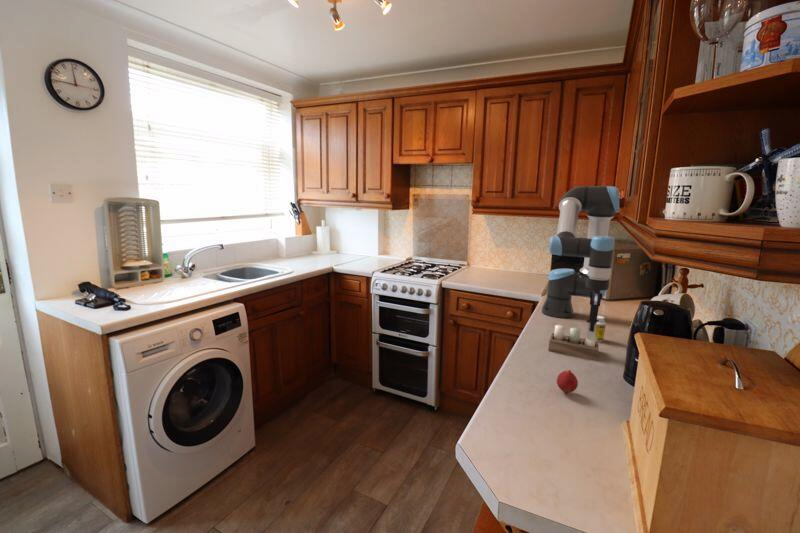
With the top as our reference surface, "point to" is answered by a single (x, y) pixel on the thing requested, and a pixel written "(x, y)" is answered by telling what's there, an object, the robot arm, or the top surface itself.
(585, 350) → the socket block
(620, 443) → the top surface
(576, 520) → the top surface
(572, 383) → the onion
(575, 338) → the pale green egg
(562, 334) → the cream egg
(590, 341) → the white egg
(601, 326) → the supplement bottle
